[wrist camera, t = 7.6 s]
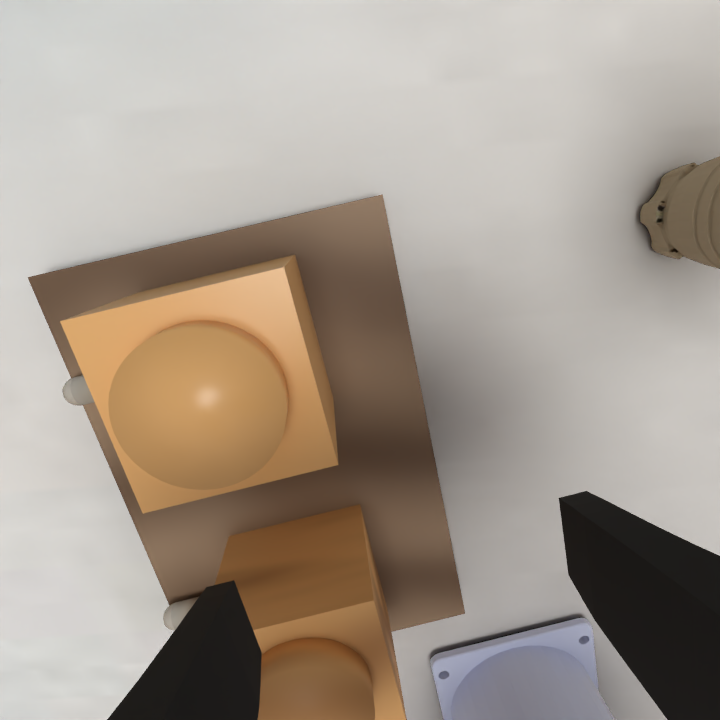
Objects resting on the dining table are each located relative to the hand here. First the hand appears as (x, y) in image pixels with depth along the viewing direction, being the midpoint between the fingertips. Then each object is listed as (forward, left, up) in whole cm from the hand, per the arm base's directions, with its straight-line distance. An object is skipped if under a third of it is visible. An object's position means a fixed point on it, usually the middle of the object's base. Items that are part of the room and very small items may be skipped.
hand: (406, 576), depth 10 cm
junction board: (-1, +4, -9) cm, 10 cm away
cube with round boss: (+4, +4, -8) cm, 10 cm away
